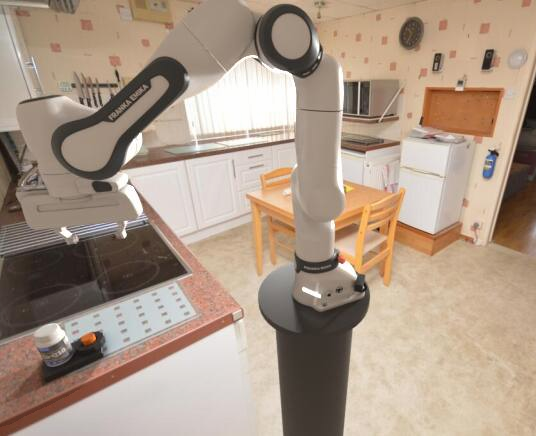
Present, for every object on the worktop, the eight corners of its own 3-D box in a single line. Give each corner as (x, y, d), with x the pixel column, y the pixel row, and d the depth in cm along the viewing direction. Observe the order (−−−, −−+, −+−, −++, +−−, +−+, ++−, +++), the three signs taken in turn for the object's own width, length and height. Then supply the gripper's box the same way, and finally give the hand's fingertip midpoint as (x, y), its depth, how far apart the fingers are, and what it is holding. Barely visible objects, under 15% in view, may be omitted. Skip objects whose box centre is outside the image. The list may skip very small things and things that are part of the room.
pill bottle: (45, 371, 61) (28, 343, 57) (47, 355, 64) (31, 328, 61) (74, 360, 64) (59, 332, 60) (75, 345, 67) (61, 318, 63)
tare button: (95, 335, 68) (93, 330, 67) (96, 342, 66) (94, 337, 66) (82, 340, 67) (80, 336, 66) (83, 347, 65) (81, 342, 64)
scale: (105, 333, 72) (101, 325, 70) (109, 354, 67) (105, 345, 65) (46, 358, 65) (41, 348, 64) (45, 382, 60) (39, 373, 59)
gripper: (0, 192, 54) (33, 254, 60) (125, 182, 59) (144, 241, 65) (22, 181, 59) (50, 239, 65) (134, 173, 64) (151, 228, 70)
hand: (98, 240), depth 65 cm, fingers open, 8 cm apart
